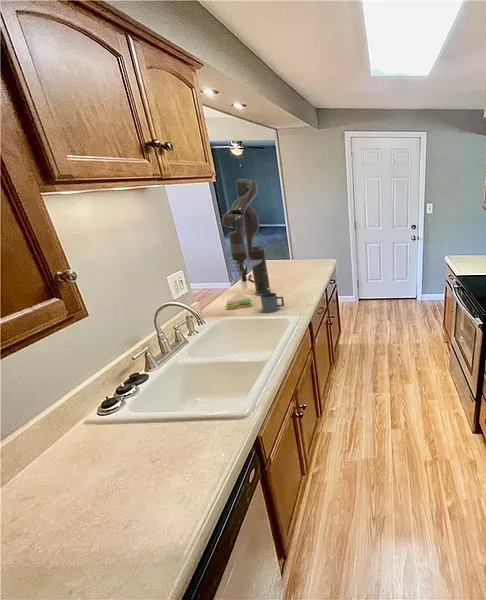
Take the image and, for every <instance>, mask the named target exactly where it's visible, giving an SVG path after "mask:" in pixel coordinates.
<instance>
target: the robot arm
mask: <svg viewBox="0 0 486 600" xmlns="http://www.w3.org/2000/svg"><path fill="white" fill-rule="evenodd" d="M235 187H236V193H237V198H236V199H235V200H234V201H233V203H232V206H231V207H230V208H229V209H228V210H227V211H226V212H225V213H224V214H223V215H222V218H221V222H222V225H223V226H224V227H225V228H229V229H230V228H236V230H235V231H230V232H229V233H228V239H229V245H230V246H229V247H230V252H231V258H232V259H231V260H232V261H234V264H235V266H236V271H237V273H238V274H239V275H240V272H241V276H242V281H243V282H245V281H250V282H252V283H253V284H254V289H255V294H256V296H261V295H263V294H266V293H272V292H271V286H270V280H269V272H268V266H267V258H266V249H265V247H264V246H263V245H253V241H254V239H255V237H256V235H257V233H258V231H259V229H260V222H259V216H258V215H257V213H256V211H255V210H254V208H252V206H251V203H252V201H253V200H254V199H255V197H257V195H258V190H259V189H258V184H257V181H255V180H252V179H244V178H239V179H237V180H236V182H235ZM244 236H245V240H244ZM247 259H248V260H249V261H259V262H257V263H255V264H253V265H252V266H251V271H252V274H249V276H248V279H247V275H248V266H247V265H246V262H245V260H247ZM243 272H245V273H243ZM252 276H253V280H252V279H251V277H252ZM239 279H240V280H241V278H240V277H239Z"/></svg>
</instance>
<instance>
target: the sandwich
mask: <svg viewBox="0 0 486 600" xmlns="http://www.w3.org/2000/svg"><path fill="white" fill-rule="evenodd" d="M251 303H253V300H251V298H249V296H246V295H245V294H242V293H241V292H240V291H239V292H236V294H234V295H233V296H231V298H230V299H228V300H227V301H226V305H225V306H224V308H227V310H234V309H241V308H251V307H252V304H251Z"/></svg>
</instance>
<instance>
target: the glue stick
mask: <svg viewBox="0 0 486 600" xmlns="http://www.w3.org/2000/svg"><path fill="white" fill-rule="evenodd" d="M243 273H245V272H243ZM240 278H241V279H240ZM239 279H240V282H241V289H243V290H245V289H248V287H249V286H248V282H247V281H248V280H247V281H245V282H243V281H242V276H241V272H240V274H239Z"/></svg>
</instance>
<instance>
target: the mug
mask: <svg viewBox="0 0 486 600" xmlns="http://www.w3.org/2000/svg"><path fill="white" fill-rule="evenodd" d="M259 297H260V302H261V303H260V304H261V310H262V312H263V313H266V314H271V313H276V312H278V311H279V310H280V309H279V308H282V307H285V302H284V301H285V300H284V296H278V294H277V293H276V292H271V293H266V294H263V295H259ZM280 299H281V300H280ZM278 300H280V301H281V304H279V301H278Z"/></svg>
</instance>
